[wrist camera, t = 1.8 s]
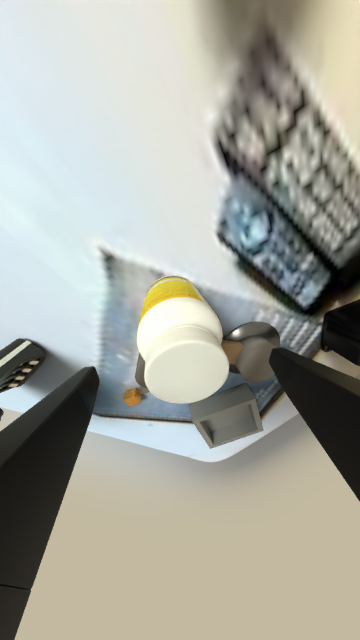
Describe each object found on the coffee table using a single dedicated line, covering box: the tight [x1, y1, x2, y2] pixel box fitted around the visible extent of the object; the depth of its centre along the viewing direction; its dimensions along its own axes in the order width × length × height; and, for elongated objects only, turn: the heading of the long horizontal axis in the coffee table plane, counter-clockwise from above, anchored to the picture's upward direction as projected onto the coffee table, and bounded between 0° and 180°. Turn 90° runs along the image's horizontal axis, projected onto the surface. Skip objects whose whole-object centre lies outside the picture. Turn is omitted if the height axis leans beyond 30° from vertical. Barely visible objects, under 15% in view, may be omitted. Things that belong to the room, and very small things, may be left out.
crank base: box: [123, 322, 280, 406], centre depth 20 cm, size 21×8×1 cm, turn 112°
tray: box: [189, 384, 263, 449], centre depth 24 cm, size 9×9×2 cm
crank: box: [135, 336, 277, 389], centre depth 16 cm, size 16×5×5 cm, turn 77°
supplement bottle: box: [137, 275, 229, 404], centre depth 11 cm, size 5×5×10 cm
